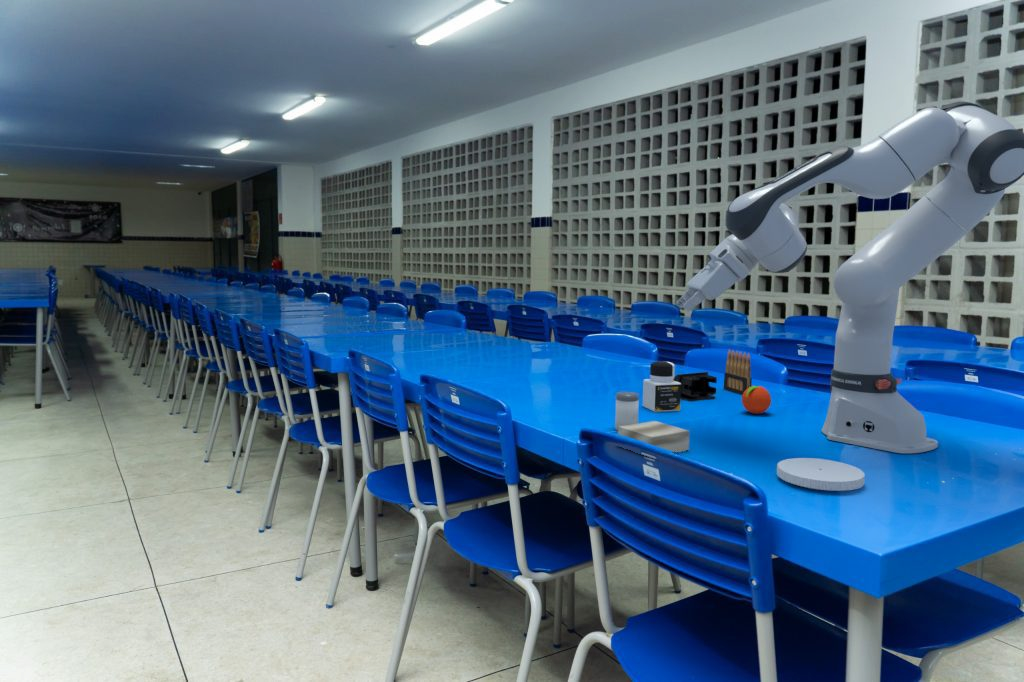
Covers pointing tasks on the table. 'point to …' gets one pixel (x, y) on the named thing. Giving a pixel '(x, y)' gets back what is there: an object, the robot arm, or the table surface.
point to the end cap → (696, 386)
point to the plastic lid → (820, 474)
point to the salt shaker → (626, 409)
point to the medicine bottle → (661, 388)
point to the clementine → (756, 399)
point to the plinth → (658, 435)
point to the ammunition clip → (737, 372)
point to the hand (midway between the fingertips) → (681, 307)
